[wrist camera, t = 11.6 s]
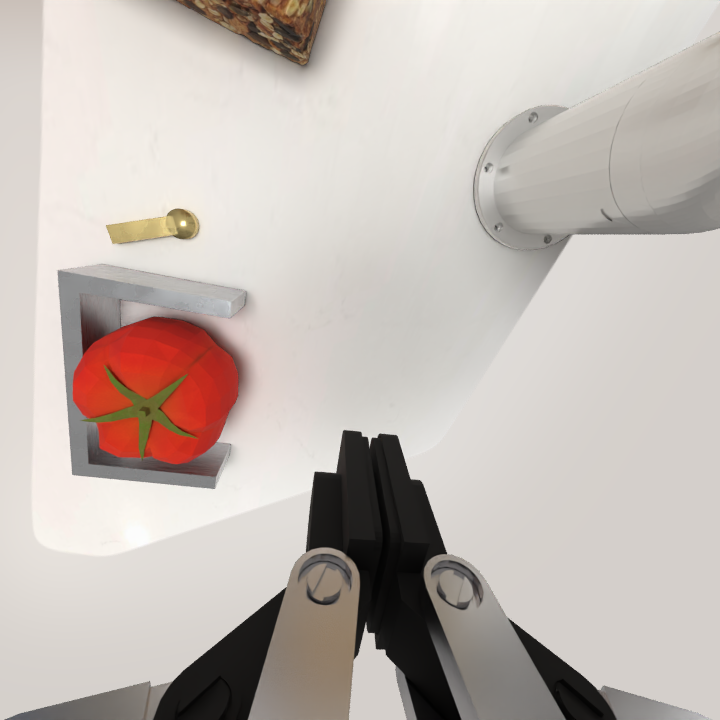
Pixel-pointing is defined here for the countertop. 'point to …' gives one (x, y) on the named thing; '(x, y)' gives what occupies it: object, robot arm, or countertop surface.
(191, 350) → the tomato
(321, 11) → the bread
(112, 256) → the countertop surface
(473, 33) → the countertop surface
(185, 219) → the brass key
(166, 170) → the countertop surface
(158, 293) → the grey u-shaped bracket
